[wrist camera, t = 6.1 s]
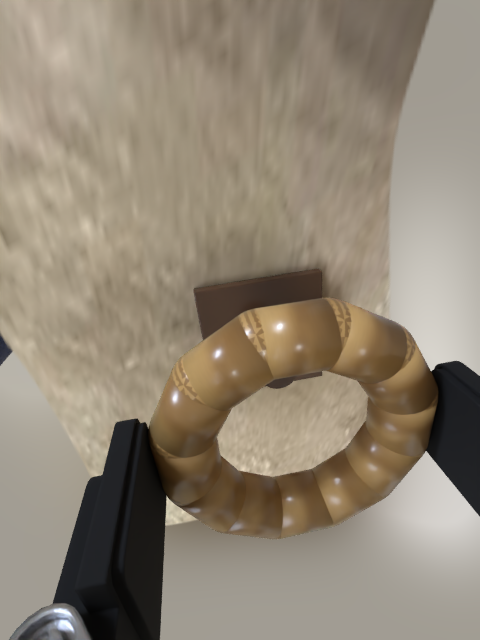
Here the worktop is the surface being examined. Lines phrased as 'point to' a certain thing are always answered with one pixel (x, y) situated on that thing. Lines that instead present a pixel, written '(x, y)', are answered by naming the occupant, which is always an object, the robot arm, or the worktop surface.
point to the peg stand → (256, 302)
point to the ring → (280, 362)
